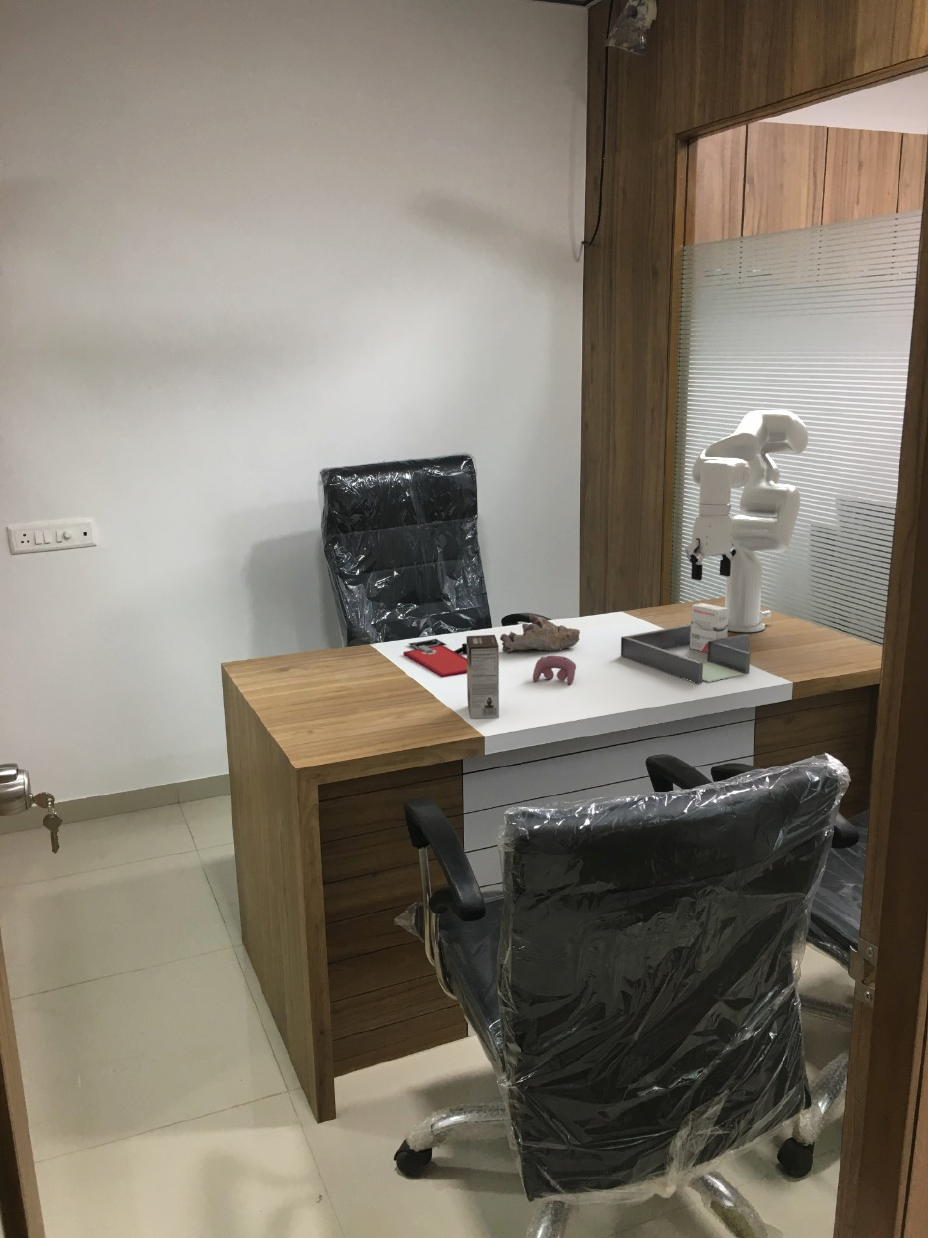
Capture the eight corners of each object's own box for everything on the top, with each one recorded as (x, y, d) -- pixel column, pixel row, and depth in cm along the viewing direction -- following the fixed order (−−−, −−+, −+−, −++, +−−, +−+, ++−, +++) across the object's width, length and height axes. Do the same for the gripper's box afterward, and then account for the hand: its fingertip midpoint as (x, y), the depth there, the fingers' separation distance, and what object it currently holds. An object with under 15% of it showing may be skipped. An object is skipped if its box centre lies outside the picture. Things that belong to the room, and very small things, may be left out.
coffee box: (466, 705, 222) (465, 635, 218) (495, 704, 223) (494, 634, 219) (470, 719, 213) (469, 646, 209) (500, 718, 214) (499, 645, 210)
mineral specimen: (516, 640, 254) (508, 607, 259) (499, 659, 261) (492, 627, 266) (585, 644, 262) (577, 611, 267) (567, 662, 270) (559, 630, 275)
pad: (709, 664, 249) (709, 662, 249) (742, 675, 240) (742, 673, 240) (676, 671, 244) (676, 669, 244) (708, 682, 235) (708, 681, 235)
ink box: (727, 651, 260) (729, 607, 257) (715, 655, 257) (717, 610, 254) (700, 645, 266) (702, 601, 263) (688, 648, 263) (690, 604, 260)
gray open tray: (703, 639, 271) (703, 621, 270) (784, 664, 248) (785, 645, 246) (620, 655, 258) (621, 637, 256) (698, 684, 234) (699, 663, 233)
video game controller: (575, 687, 238) (578, 658, 239) (571, 684, 234) (575, 655, 235) (535, 684, 241) (538, 655, 243) (530, 681, 237) (534, 651, 238)
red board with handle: (442, 641, 275) (392, 649, 268) (442, 631, 274) (391, 639, 267) (496, 670, 249) (442, 681, 243) (496, 659, 248) (441, 669, 242)
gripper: (728, 506, 260) (725, 572, 264) (677, 511, 251) (674, 578, 255) (750, 509, 254) (746, 576, 258) (698, 514, 245) (695, 583, 249)
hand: (710, 577), depth 256 cm, fingers open, 9 cm apart
